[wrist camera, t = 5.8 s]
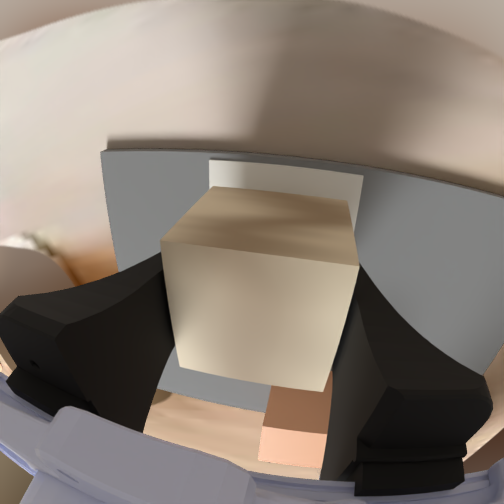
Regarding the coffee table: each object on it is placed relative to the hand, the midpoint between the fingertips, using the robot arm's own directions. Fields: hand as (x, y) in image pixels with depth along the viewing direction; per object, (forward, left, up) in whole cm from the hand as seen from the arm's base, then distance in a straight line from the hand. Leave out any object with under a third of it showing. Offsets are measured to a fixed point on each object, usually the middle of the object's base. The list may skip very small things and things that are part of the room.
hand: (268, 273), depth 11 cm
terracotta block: (-3, +11, -3) cm, 12 cm away
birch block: (0, 0, -1) cm, 1 cm away
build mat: (-3, +6, -4) cm, 7 cm away
